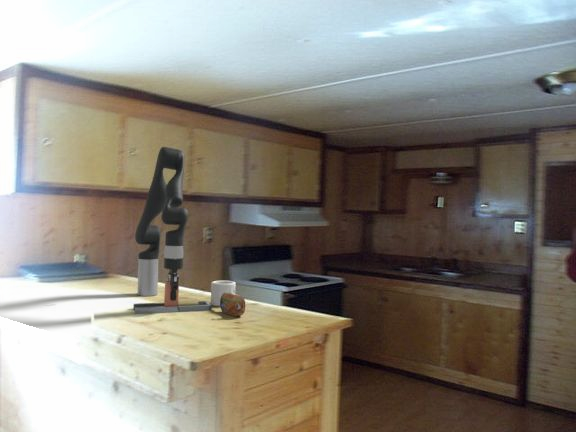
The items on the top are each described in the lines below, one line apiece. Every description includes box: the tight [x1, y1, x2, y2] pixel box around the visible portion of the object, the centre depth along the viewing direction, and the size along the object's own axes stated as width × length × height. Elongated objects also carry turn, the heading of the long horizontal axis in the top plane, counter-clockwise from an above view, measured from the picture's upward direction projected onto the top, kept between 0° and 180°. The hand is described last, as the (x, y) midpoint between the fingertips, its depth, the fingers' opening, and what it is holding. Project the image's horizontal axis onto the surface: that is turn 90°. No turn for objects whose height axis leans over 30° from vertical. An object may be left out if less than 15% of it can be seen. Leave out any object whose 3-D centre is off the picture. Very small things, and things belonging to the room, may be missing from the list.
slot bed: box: [132, 302, 179, 315], centre depth 194 cm, size 10×16×3 cm, turn 112°
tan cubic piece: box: [178, 298, 188, 306], centre depth 198 cm, size 4×4×4 cm
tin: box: [220, 293, 246, 317], centre depth 195 cm, size 15×3×8 cm, turn 40°
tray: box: [177, 300, 213, 313], centre depth 199 cm, size 10×13×3 cm
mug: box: [210, 280, 237, 308], centre depth 216 cm, size 14×11×10 cm
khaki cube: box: [186, 298, 199, 306], centre depth 199 cm, size 4×4×4 cm
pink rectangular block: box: [163, 280, 180, 307], centre depth 196 cm, size 4×5×11 cm
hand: (172, 299), depth 196 cm, fingers closed on pink rectangular block, 3 cm apart
